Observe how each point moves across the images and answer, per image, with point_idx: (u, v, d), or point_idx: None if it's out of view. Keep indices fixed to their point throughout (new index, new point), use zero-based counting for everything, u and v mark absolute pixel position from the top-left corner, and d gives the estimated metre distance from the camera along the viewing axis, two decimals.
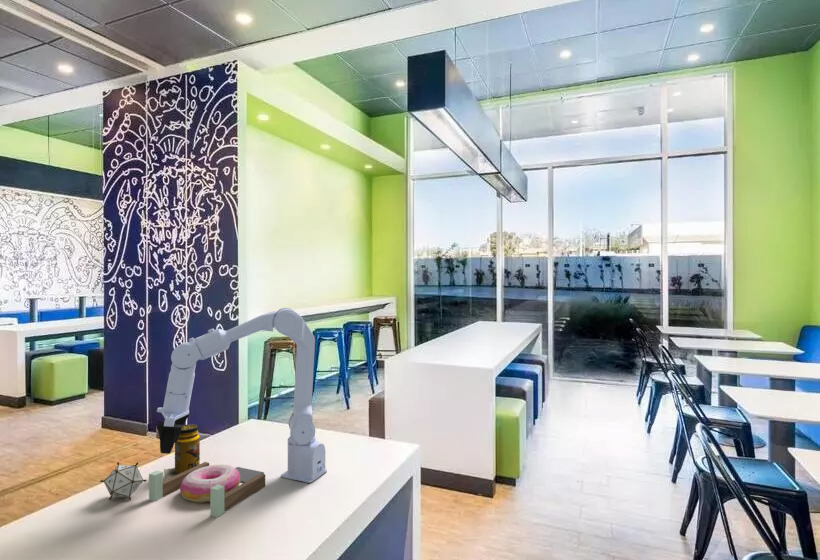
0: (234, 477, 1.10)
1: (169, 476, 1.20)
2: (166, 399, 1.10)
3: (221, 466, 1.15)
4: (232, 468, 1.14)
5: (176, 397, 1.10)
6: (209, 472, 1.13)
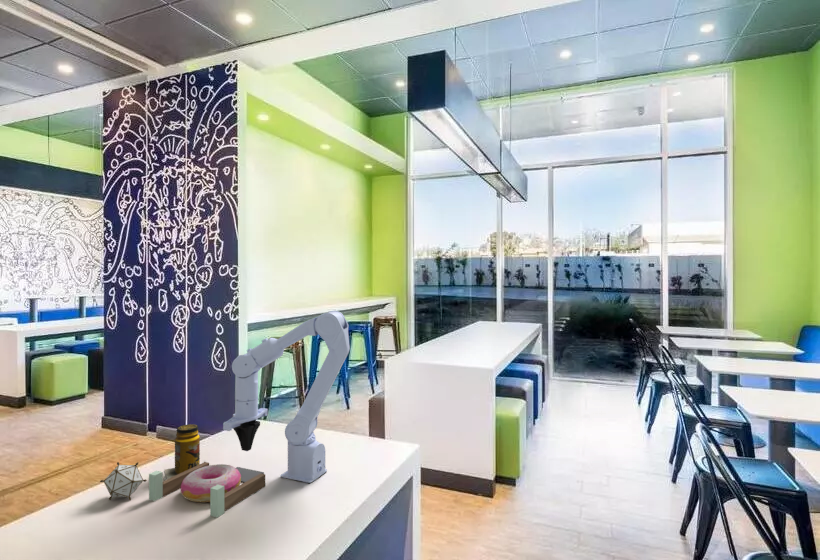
0: (234, 477, 1.10)
1: (169, 476, 1.20)
2: (235, 405, 1.22)
3: (222, 466, 1.15)
4: (233, 468, 1.14)
5: (239, 403, 1.20)
6: (210, 472, 1.13)
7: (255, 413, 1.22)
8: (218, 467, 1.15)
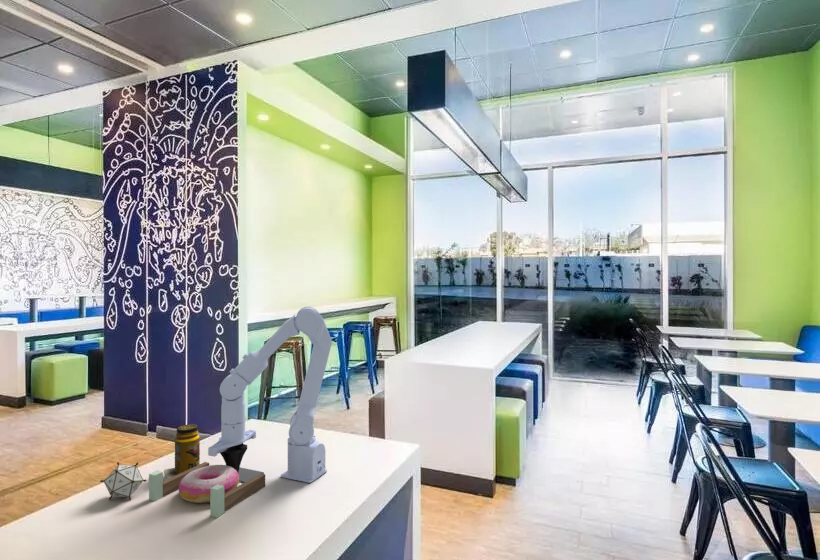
0: (232, 477, 1.10)
1: (169, 476, 1.20)
2: (221, 429, 1.17)
3: (220, 466, 1.15)
4: (231, 468, 1.14)
5: (225, 427, 1.15)
6: (208, 473, 1.13)
7: (242, 437, 1.17)
8: (216, 467, 1.14)
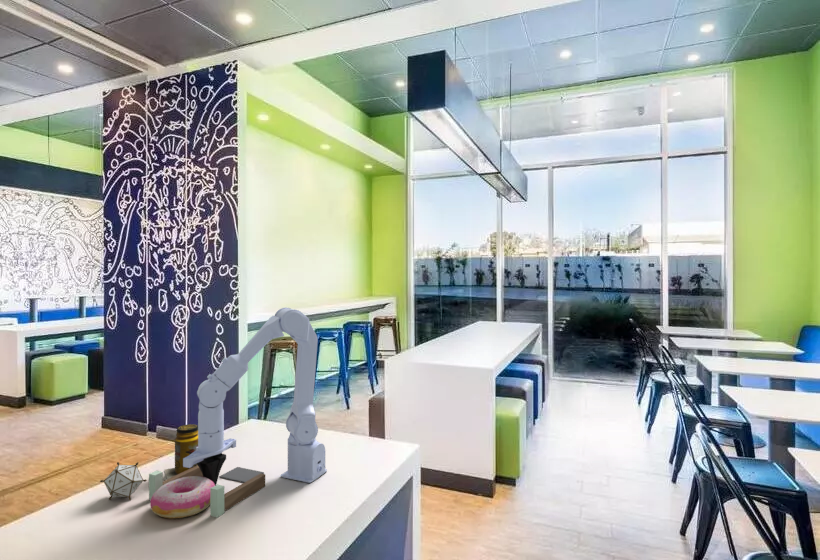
0: (208, 491, 1.03)
1: (169, 476, 1.20)
2: None
3: (196, 478, 1.08)
4: (207, 480, 1.07)
5: (201, 436, 1.09)
6: (183, 485, 1.06)
7: (220, 446, 1.10)
8: (192, 479, 1.07)
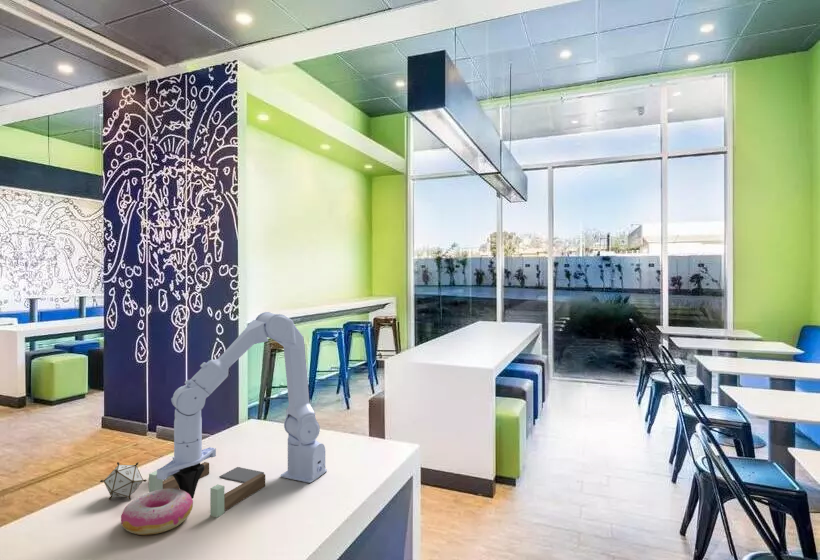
0: (183, 504, 0.97)
1: (169, 476, 1.20)
2: None
3: (172, 491, 1.02)
4: (183, 493, 1.00)
5: (177, 446, 1.02)
6: (157, 498, 1.00)
7: (197, 456, 1.04)
8: (167, 492, 1.01)
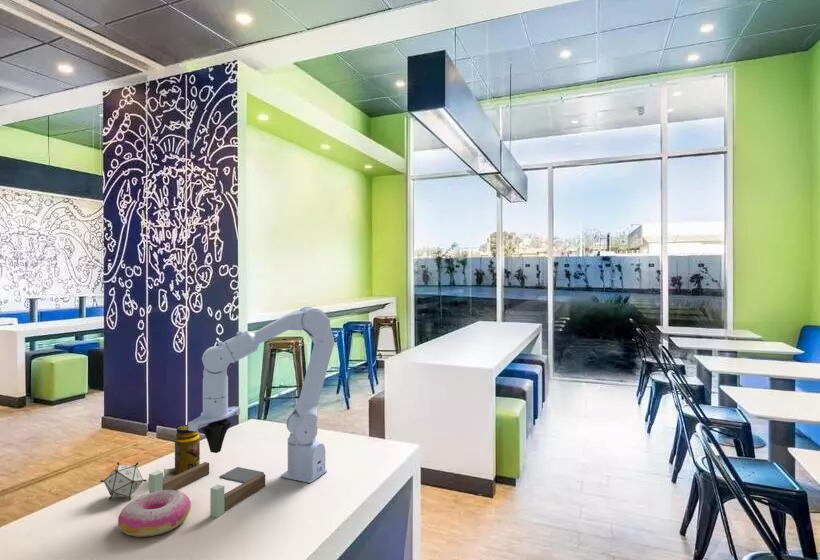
0: (181, 506, 0.96)
1: (169, 476, 1.20)
2: None
3: (169, 492, 1.01)
4: (181, 495, 1.00)
5: (206, 401, 1.10)
6: (155, 500, 0.99)
7: (224, 412, 1.12)
8: (165, 494, 1.01)
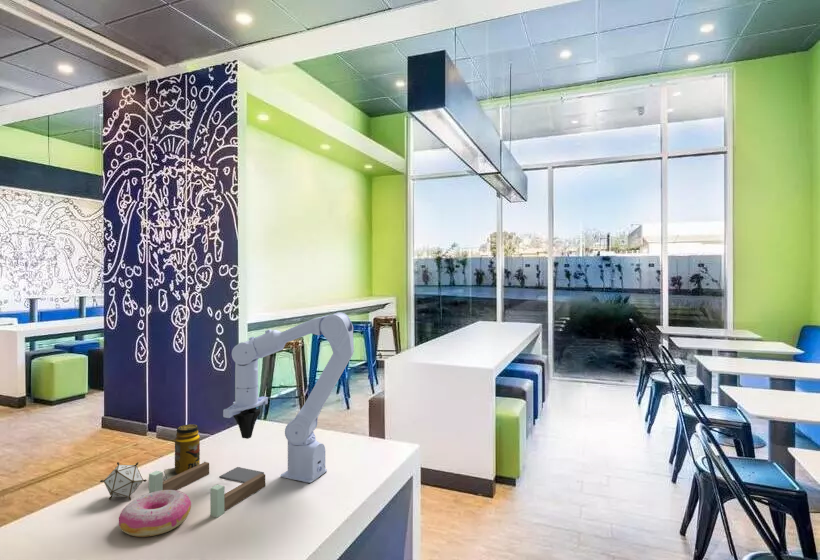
0: (182, 506, 0.96)
1: (169, 476, 1.20)
2: (235, 393, 1.22)
3: (170, 492, 1.01)
4: (182, 495, 1.00)
5: (239, 391, 1.20)
6: (155, 500, 0.99)
7: (255, 401, 1.21)
8: (165, 493, 1.01)
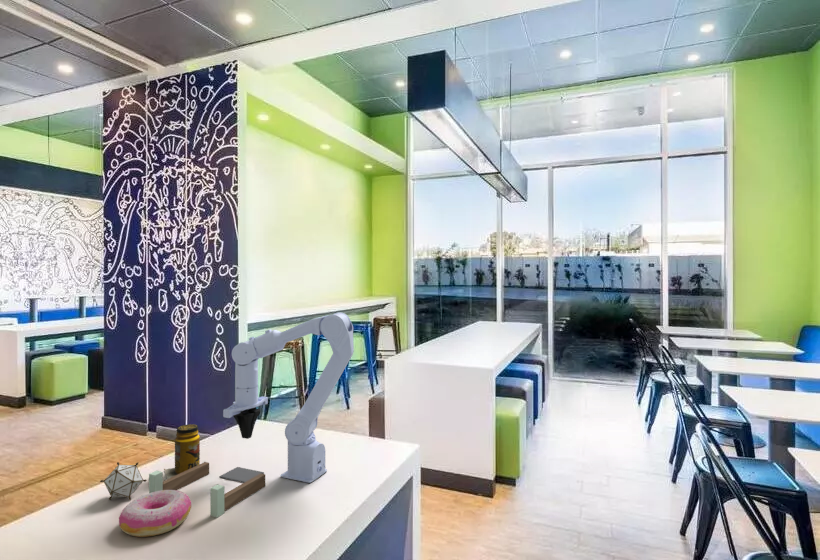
0: (182, 506, 0.96)
1: (169, 476, 1.20)
2: (235, 393, 1.22)
3: (170, 492, 1.01)
4: (182, 495, 1.00)
5: (239, 391, 1.20)
6: (155, 500, 0.99)
7: (255, 401, 1.21)
8: (166, 493, 1.01)
